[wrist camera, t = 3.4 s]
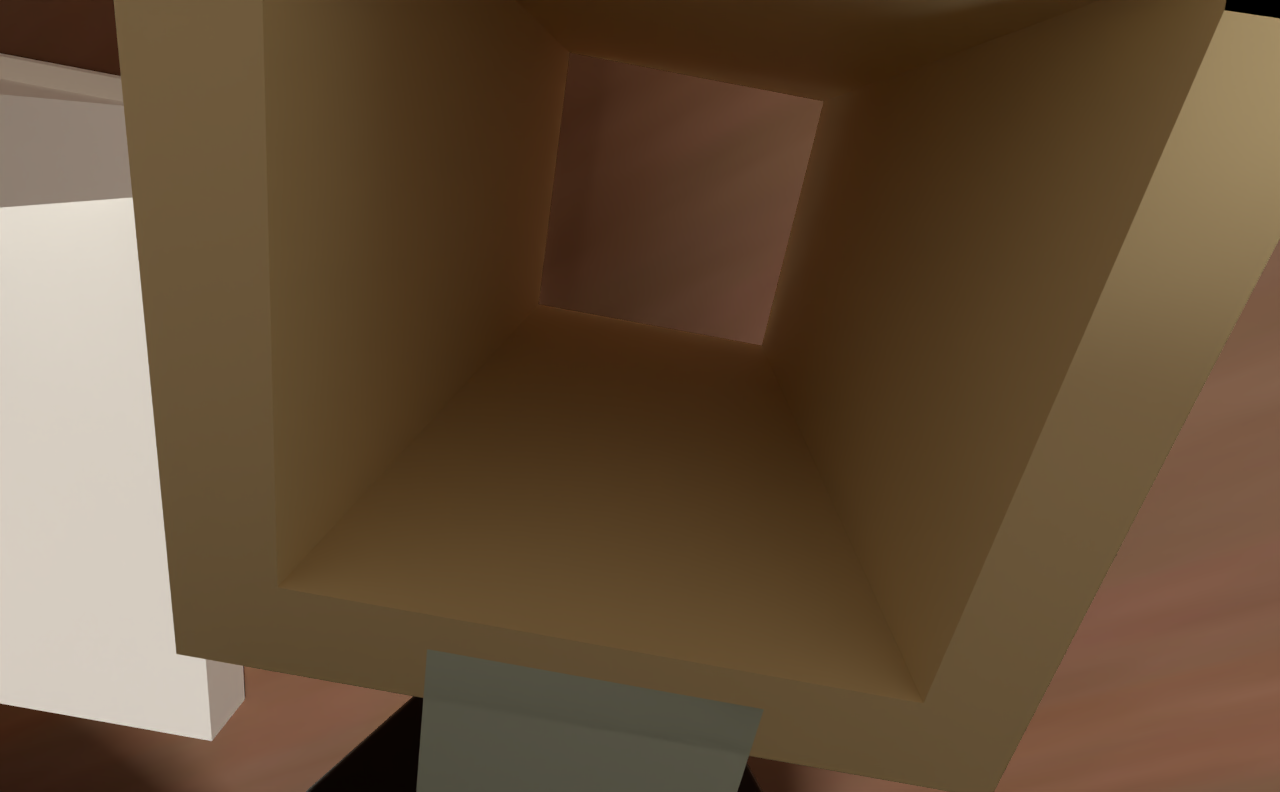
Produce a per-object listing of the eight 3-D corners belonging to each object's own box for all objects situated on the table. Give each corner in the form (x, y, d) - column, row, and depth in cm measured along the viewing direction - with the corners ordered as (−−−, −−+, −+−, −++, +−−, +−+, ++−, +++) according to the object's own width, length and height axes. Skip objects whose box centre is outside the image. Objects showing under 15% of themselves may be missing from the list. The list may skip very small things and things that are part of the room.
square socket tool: (657, 865, 12) (641, 1474, 7) (446, 829, 12) (250, 1409, 7) (878, 61, 7) (1521, -236, 2) (531, -5, 7) (58, -532, 2)
